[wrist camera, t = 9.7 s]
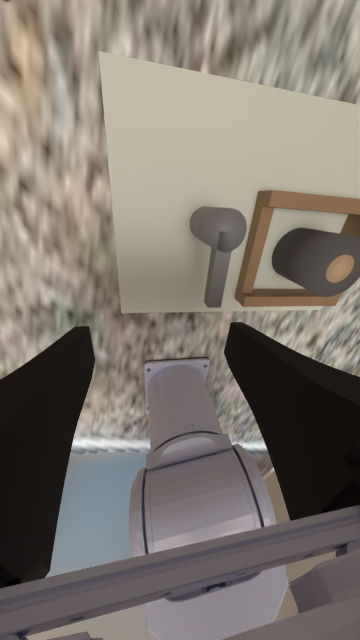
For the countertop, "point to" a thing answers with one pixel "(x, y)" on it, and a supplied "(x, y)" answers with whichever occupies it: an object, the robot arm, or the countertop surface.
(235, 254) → the board
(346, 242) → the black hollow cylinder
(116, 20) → the countertop surface
